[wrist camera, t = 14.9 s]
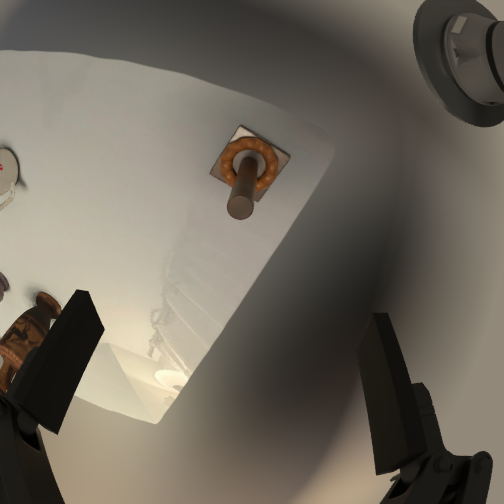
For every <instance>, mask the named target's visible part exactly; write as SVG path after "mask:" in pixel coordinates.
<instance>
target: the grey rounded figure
mask: <svg viewBox="0 0 504 504" xmlns="http://www.w3.org/2000/svg"><path fill="white" fill-rule="evenodd" d="M8 287H9V285H8V282H7V280H6V278H5V277H4V275H3V274H2V273H1V272H0V302H1V301H2V299H3V296H4V291H6V290H7V289H8Z"/></svg>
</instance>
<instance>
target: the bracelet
mask: <svg viewBox="0 0 504 504" xmlns="http://www.w3.org/2000/svg"><path fill="white" fill-rule="evenodd" d="M244 150H255V151H256V152H258V153H259V154H261V155H262V156H263V158H264V160H265V162H266V170H265V172H264V174H263V175H262V176H261V178H259V179H257V181H256V190H255V193H257V192H259V191H261V190H263V189H265V188H267V187H269V186H270V184H271V183H272V182H273V180H274V179H275V178H276V176H277V172H278V158H277V157H276V155H275V153H274V151H273V149H272V147H271V146H269V145H268V144H266V143H265V142H263V141H262V140H260V139H258V138H241V139H239V140H237V141H235V142H233V143H231V144H229V145H228V146H227V148H226V149H225V151H224V152H223V154H222V156H221V158H220V172H221V174H222V176H223V178H224V179H225V181H226V183H227V184H228V185H229V186H231V187H232V188H233V185H234V182H235V179H236V175H235V173H234V171H233V169H232V161H233V159H234V158H235V156H236V155H237V154H238V153H240V152H242V151H244Z"/></svg>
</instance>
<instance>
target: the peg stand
mask: <svg viewBox="0 0 504 504" xmlns="http://www.w3.org/2000/svg"><path fill="white" fill-rule="evenodd" d="M241 138H258V139H260V140H262V141H263V142H265V143H266V144H268V145H269V146H271V147H272V149H273V151H274V153H275V155H276V157H277V158H278V172H277V176H278V174H279V173H280V172H281V170H282V169H283V168H284V166H285V165H286V164H287V162H288V161H289V159H290V155H288V154H287V153H285V152H284V151H282V150H280V149H279V148H277V147H276V146H274V145H273V144H271V143H270V142H268V141H266V140H265V139H263V138H262V137H260V136H258V135H257V134H255V133H254V132H252V131H250V130H249V129H247V128H245V127H244V126H242V125H240V126H239V127H238V129H237V130H236V132H235V133H234V135H233V137H232V138H231V140H230V141H229V143H228V144H227V146H228V145H229V144H231V143H233V142H235V141H237V140H239V139H241ZM227 146H226V147H225V149H226V148H227ZM225 149H224V151H225ZM224 151H223V152H224ZM223 152H222V154H223ZM222 154H221V155H220V157H219V159H218V160H217V162H216V164H215V165H214V167H213V168H212V170H211V172H210V174H211V175H212V176H214V177H216V178H218V179H219V180H221V181H223V182H224V183H226V181H225V179H224V178H223V176H222V174H221V172H220V158H221V156H222ZM232 169H233V171H234V173H235V175H236V179H235V182H234V185H233V188H232V191H231V194H230V197H229V200H228V204H227V211H228V213H229V214H230V216H232V217H233V218H235V219H238V220H243V219H246V218H248V217H249V216H250V215H251V214H252V212H253V208H254V200H255V201H256V202H259V201H260V199H261V198H262V196H263V195H264V194H265V192H266V191H267V189H268V188H269V187H270V186H269V187H267V188H265V189H263V190H261V191H259V192H257V193H255V190H256V181H257V179H259V178H261V176H262V175H263V174H264V172H265V170H266V162H265V160H264V158H263V156H262V155H261V154H259V153H258V152H256V151H255V150H244V151H242V152H240V153H238V154H237V155H236V156H235V158H234V159H233V161H232ZM277 176H276V177H277ZM275 179H276V178H275ZM275 179H274V180H275ZM274 180H273V181H274ZM272 183H273V182H272ZM272 183H271V184H272ZM226 184H227V183H226ZM271 184H270V185H271Z"/></svg>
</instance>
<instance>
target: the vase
mask: <svg viewBox="0 0 504 504" xmlns="http://www.w3.org/2000/svg"><path fill="white" fill-rule="evenodd" d="M36 303H37V306H35V307H33V308H31V309H29V310H27V311H26V312H24V313H23V314H22V315H21V316H20V317H19V318H18V319H17V320H16V321H15V322H14V323H13V324H12V325H11V327H10V328H9V329H8V330H7V332H6V333H5V334H4V336H3V337H2V338H1V339H0V355H1V356H2V357H3V360H4V362H3V365H2V367H1V369H0V393H1V394H2V395H3V396H4V395H5V394H6V390H8V389H9V387H10V385H11V381H12V378H13V376H14V375H15V373H17V371H18V370H20V366H21V364H22V363H23V361H24V359H25V357H26V356H27V354H28V352H29V351H30V350H31V349H33V348H34V347H35V346H38V347H39V346H40V345H41V343H42V341H43V340H44V338H45V337H46V335H47V333H48V332H49V329H50V321H51V318H53V319H57V318H58V316H59V315H60V313H61V308H60V306H59V304H58V303H57V302H56V301H55V300H54V299H53V298H52V297H51V296H49V295H47V294H45V293H39V294H38V295H37V296H36Z"/></svg>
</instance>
